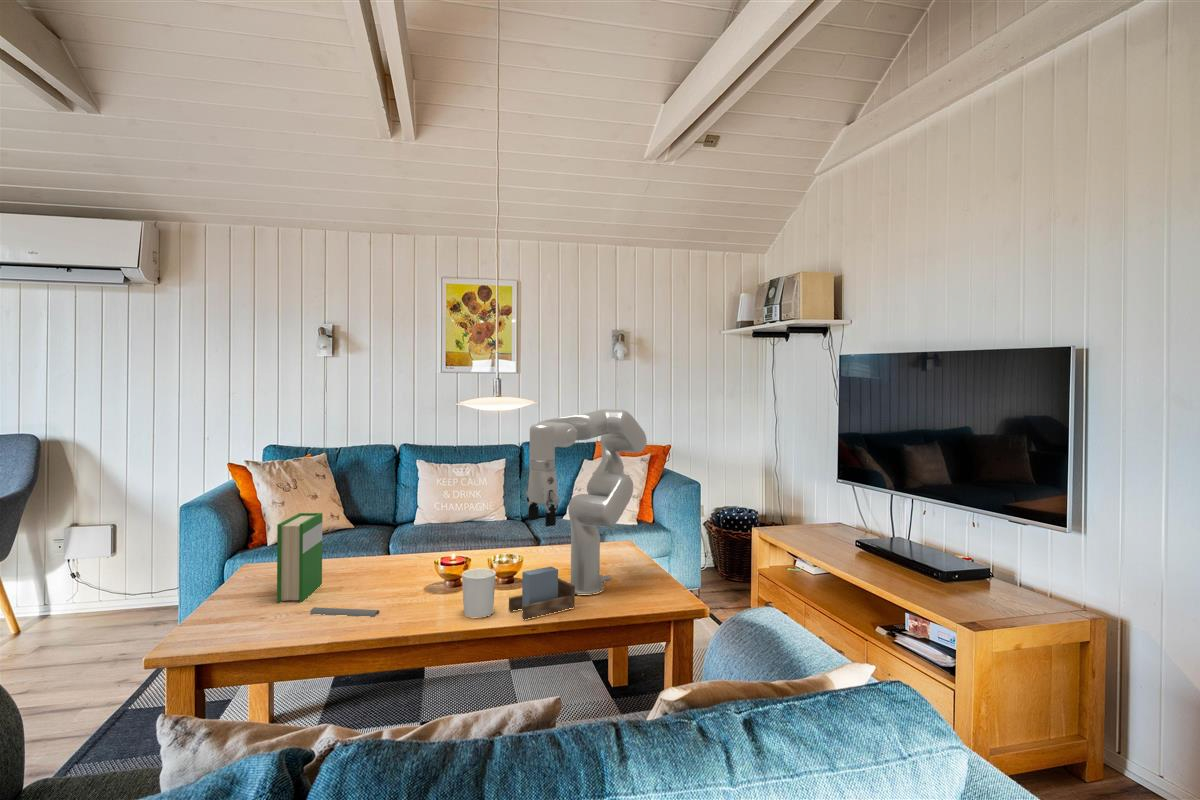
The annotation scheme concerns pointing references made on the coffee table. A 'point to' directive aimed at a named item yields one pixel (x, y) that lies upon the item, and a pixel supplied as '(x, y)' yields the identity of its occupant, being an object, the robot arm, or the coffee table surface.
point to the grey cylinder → (478, 592)
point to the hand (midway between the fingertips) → (541, 522)
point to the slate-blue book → (539, 585)
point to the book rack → (546, 602)
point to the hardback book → (299, 556)
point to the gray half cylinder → (344, 611)
